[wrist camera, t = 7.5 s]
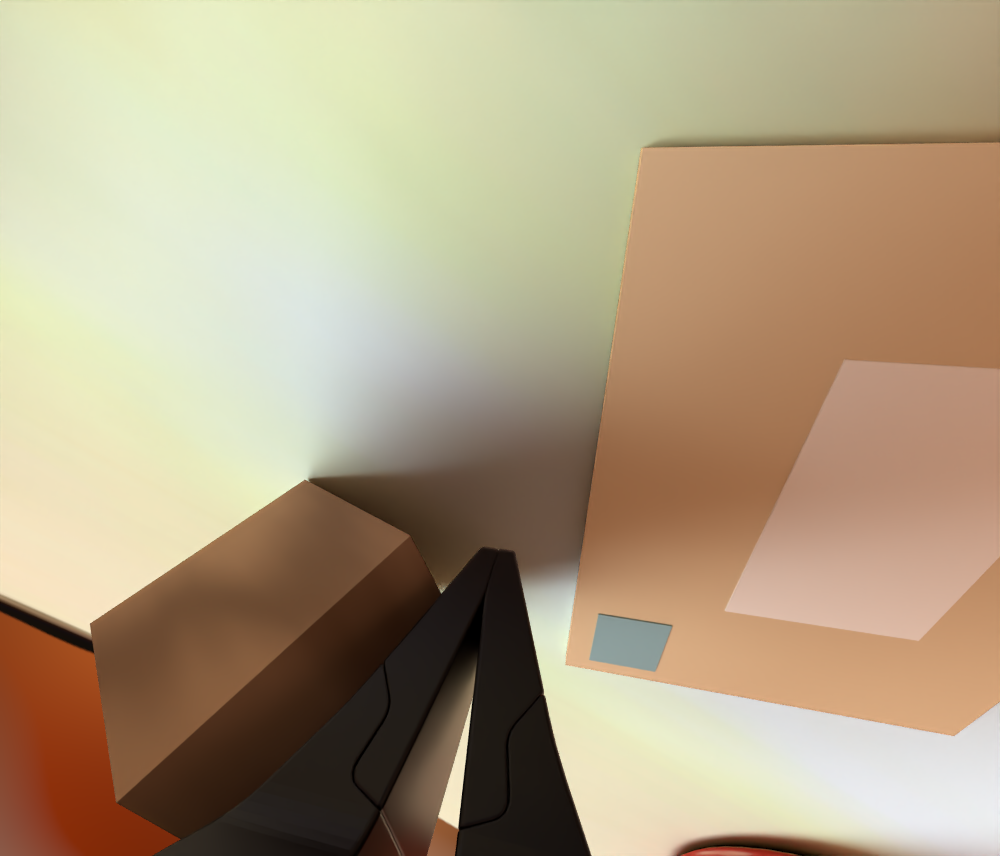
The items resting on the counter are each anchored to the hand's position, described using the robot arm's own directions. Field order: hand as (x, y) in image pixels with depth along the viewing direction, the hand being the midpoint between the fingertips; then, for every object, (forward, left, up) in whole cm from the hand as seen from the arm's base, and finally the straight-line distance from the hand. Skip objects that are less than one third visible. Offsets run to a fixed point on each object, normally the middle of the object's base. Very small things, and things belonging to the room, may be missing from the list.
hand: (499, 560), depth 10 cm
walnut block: (+3, +1, 0) cm, 3 cm away
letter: (-8, -1, -1) cm, 8 cm away
